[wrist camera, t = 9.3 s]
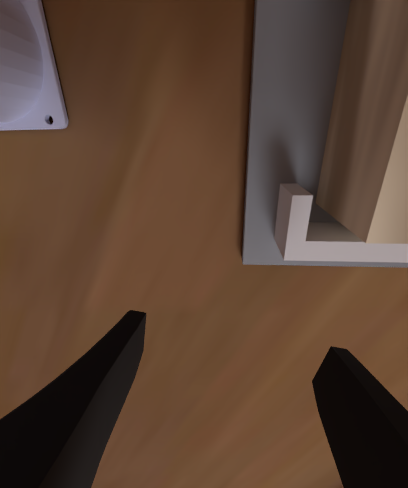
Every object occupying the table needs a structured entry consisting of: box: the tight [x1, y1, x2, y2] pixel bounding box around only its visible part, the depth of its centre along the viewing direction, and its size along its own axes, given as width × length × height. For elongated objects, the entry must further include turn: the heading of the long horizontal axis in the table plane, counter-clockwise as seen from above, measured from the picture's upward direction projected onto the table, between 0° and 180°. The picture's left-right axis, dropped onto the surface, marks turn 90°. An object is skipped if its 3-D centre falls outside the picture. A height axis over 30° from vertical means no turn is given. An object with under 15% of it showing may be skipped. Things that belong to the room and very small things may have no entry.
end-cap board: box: [242, 0, 408, 267], centre depth 12 cm, size 12×20×4 cm, turn 1°
